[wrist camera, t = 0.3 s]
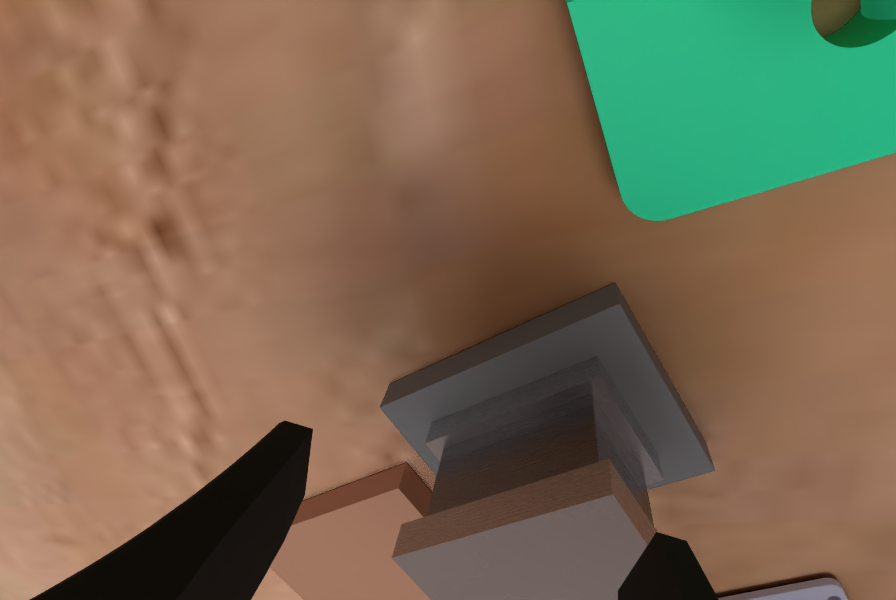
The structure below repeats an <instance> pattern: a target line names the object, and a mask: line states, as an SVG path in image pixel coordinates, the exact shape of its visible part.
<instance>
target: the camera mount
mask: <svg viewBox="0 0 896 600" xmlns="http://www.w3.org/2000/svg"><path fill="white" fill-rule="evenodd" d="M811 2H812V0H566V3H567V7H568V10H569V14H570V18H571V21H572V25H573V28H574V32H575V35H576V39H577V43H578V46H579V50H580V53H581V57H582V60H583V64H584V68H585V71H586V75H587V78H588V82H589V85H590V89H591V93H592V96H593V100H594V103H595V107H596V110H597V114H598V118H599V121H600V125H601V128H602V132H603V135H604V139H605V143H606V146H607V150H608V153H609V157H610V160H611V164H612V168H613V171H614V175H615V178H616V182H617V185H618V188H619V191H620V194H621V197H622V200H623V202H624V204H625V205H626V207H627V208H628V209H629V210H630V211H631V212H632V213H634V214H635V215H637V216H639V217H641V218H643V219H647V220H652V221H663V220H668V219H672V218H676V217H679V216H682V215H686V214H689V213H693V212H696V211H699V210H703V209H706V208H710V207H713V206H716V205H720V204H723V203H727V202H730V201H733V200H737V199H740V198H743V197H747V196H750V195H754V194H757V193H760V192H764V191H767V190H771V189H774V188H777V187H781V186H784V185H788V184H791V183H794V182H798V181H801V180H804V179H808V178H811V177H815V176H818V175H821V174H825V173H828V172H832V171H835V170H838V169H842V168H845V167H849V166H852V165H855V164H859V163H862V162H866V161H869V160H872V159H876V158H879V157H882V156H886V155H889V154H893V153H896V0H860V2H861V8H860V9H859V11H858V12H857V14H856V15H855V16H854V17H853V18H852V19H851V20H850V21H849V22H848V23H847V24H846V25H845V26H844V27H842V28H841V29H839V30H838V31H836V32H835V33H833V34H831V35H829V36H826V37H823V38H822V37H821V36H820V35H819V33H818V32H817V30H816V29H815V26H814V24H813V21H812V16H811Z"/></svg>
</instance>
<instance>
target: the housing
mask: <svg viewBox="0 0 896 600" xmlns="http://www.w3.org/2000/svg"><path fill="white" fill-rule="evenodd" d="M425 444H426V445H427V446H428V448H429V449H430V450H431V451H432V452H433V454H434V455H435V456H436V457H437V459H438V460H439V461H440V464H439V468H438V472H437V476H436V480H435V484H434V488H433V492H432V496H431V500H430V504H429V508H428V512H427V516H426V517H423V518H419V519H416V520H413V521H410V522H407V523H404V524H401V528H400V531H399V534H398V538H397V541H396V545H395V548H394V551H393V555H392V559H393V560H394V561H395V562H396V563H397V564H398V565H399V566H400V567H401V569H402V570H403V571H404V572H405V573H406V574H407V575H408V576H409V577H410V578H411V579H412V580H413V581H414V582H415V583H416V585H417V586H418V587H419V588H420V589H421V590H422V591H423V592H424V593H425V594H426V595H427V596H428V597H429V598H430V599H431V600H618V590H619V588H620V587H621V585H622V583H623V582H624V580H625V579H626V577H627V576H628V574H629V573H630V571H631V570H632V568H633V567H634V565H635V564H636V562H637V561H638V559H639V558H640V556H641V555H642V553H643V551H644V550H645V548H646V547H647V545H648V544H649V542H650V541H651V539H652V538H653V536H654V535H655V533H656V532H657V531H656V529H655V528H654V524H653V519H652V514H651V508H650V503H649V497H648V492H647V486H646V485H648V484H651V483H655V482H658V481H662V480H664V477H663V473H662V468H661V464H660V459H659V455H658V453H657V452H656V450H655V448H654V447H653V445H652V443H651V442H650V440H649V439H648V437H647V435H646V434H645V432H644V430H643V429H642V427H641V426H640V424H639V422H638V421H637V419H636V418H635V416H634V414H633V413H632V411H631V409H630V408H629V406H628V405H627V403H626V401H625V400H624V398H623V396H622V395H621V393H620V392H619V390H618V388H617V387H616V385H615V383H614V382H613V380H612V379H611V377H610V375H609V374H608V372H607V370H606V369H605V367H604V366H603V364H602V362H601V361H600V359H599V357H598V356H595V357H592V358H590V359H587V360H585V361H582V362H580V363H577V364H575V365H572V366H570V367H567V368H565V369H562V370H560V371H557V372H555V373H552V374H550V375H547V376H545V377H542V378H540V379H537V380H535V381H532V382H530V383H527V384H525V385H522V386H520V387H517V388H515V389H512V390H510V391H507V392H505V393H502V394H500V395H497V396H495V397H492V398H490V399H487V400H485V401H482V402H480V403H477V404H475V405H472V406H470V407H467V408H465V409H462V410H460V411H457V412H455V413H452V414H450V415H447V416H445V417H442V418H440V419H437V420H435V421H432V422H431V425H430V429H429V432H428V435H427V439H426V442H425Z"/></svg>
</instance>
